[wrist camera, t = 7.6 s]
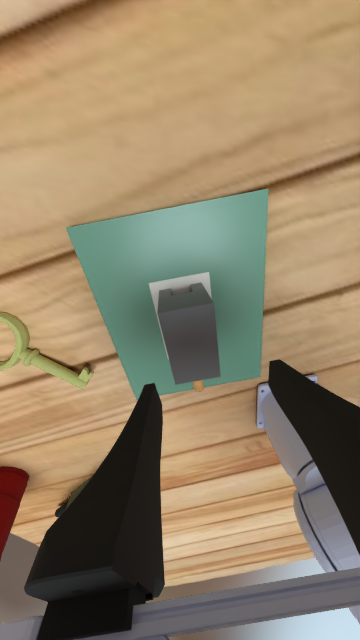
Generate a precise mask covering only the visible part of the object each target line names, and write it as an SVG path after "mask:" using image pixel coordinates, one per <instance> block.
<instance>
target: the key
mask: <svg viewBox="0 0 360 640" xmlns="http://www.w3.org/2000/svg"><path fill="white" fill-rule="evenodd" d="M0 321H1V322H3V323H5V324H7V325H8V326H9V327H10V328H11V329H12V330H13V332H14V334H15V339H16V346H15V350H14V353H13V355H12V357H11V359H10V360H8V361H5V362H1V361H0V371H3V370H6V369H8V368H10V367H12V366H14V365H15V364H17V363H18V362H19V361H20V360H21V359H22V360H24V362H23V365H25V366H28V365H30V364H32V365H34V366H36V367H38V368H40V369H42V370H44V371H46V372H48V373H50V374H53V375H55V376H57V377H59V378H61V379H63V380H65V381H67V382H69V383H71V384H73V385H75V386H77V387H79V388H81V389H84V388H85V386H86V385H87V383H88V382H89V378H90V377H91V376H92V374H93V373H94V371H91V372H89V371H90V370H88V368H86V367H85V368H84V369H83V371H82V372H81V374H78V373H76V372H74V371H72V370H70V369H68V368H66V367H64V366H62V365H60V364H58V363H56V362H54V361H52V360H50V359H48V358H46V357H44V356H42V355H40V354H39V353H40V352H39V350H37V349H35V350H33V351H32V350H30V349H28V345H29V333H28V329H27V327H26V326H25V324H24V323H23V322H22V321H21V320H19V319H18V318H17V317H15V316H13V315H11V314H8V313H4V312H0Z"/></svg>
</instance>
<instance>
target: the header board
mask: <svg viewBox="0 0 360 640" xmlns="http://www.w3.org/2000/svg"><path fill="white" fill-rule="evenodd" d="M267 209H268V189H264V190H258V191H253V192H248V193H243V194H238V195H233V196H228V197H222V198H217V199H212V200H207V201H202V202H197V203H192V204H186V205H181V206H176V207H171V208H166V209H161V210H156V211H150V212H145V213H140V214H135V215H130V216H125V217H120V218H114V219H109V220H104V221H99V222H94V223H89V224H84V225H78V226H73V227H68V228H66V229H67V232H68V234H69V237H70V239H71V241H72V244H73V246H74V249H75V251H76V254H77V256H78V258H79V261H80V263H81V266H82V268H83V271H84V273H85V275H86V278H87V280H88V283H89V285H90V288H91V290H92V292H93V295H94V297H95V300H96V302H97V305H98V307H99V309H100V312H101V314H102V317H103V319H104V322H105V324H106V326H107V329H108V331H109V334H110V336H111V339H112V341H113V343H114V346H115V348H116V351H117V353H118V356H119V358H120V360H121V363H122V365H123V368H124V370H125V372H126V375H127V377H128V380H129V382H130V385H131V387H132V389H133V392H134V394H135V397H136V399H139V397H140V394H141V392H142V389H143V387H144V385H145V384H151V383H155V385H156V388H157V391H158V394H159V395H165V394H170V393H176V392H181V391H186V390H192V389H194V388H193V382H189V383H183V384H178V385H175V382H174V378H173V374H172V370H171V366H170V362H169V358H168V354H167V350H166V346H165V342H164V338H163V334H162V330H161V326H160V322H159V318H158V314H157V312H158V298H159V290H164V289H170V288H171V293H172V296H173V295H178V294H183V293H189V292H191V290H190V285H191V284H196V283H202V284H203V286H204V288H205V289H206V291H207V292H208V294H209V296H210V297H211V299H212V300H213V302H214V307H215V318H216V329H217V340H218V352H219V363H220V374H221V377H216V378H211V379H205V380H203V384H204V387H208V386H214V385H219V384H225V383H230V382H236V381H241V380H246V379H252V378H257V377H260V370H261V347H262V324H263V301H264V278H265V255H266V232H267Z"/></svg>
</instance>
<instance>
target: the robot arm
mask: <svg viewBox="0 0 360 640" xmlns="http://www.w3.org/2000/svg"><path fill="white" fill-rule="evenodd" d="M317 379H318V377H317V376H316V375H308V376H304V375H302V374H301V373H299V372H298V371H296V370H295V369H293V368H292V367H290V366H289V365H287V364H286V363H284V362H283V361H281V360H280V359H279V360H274V361H270V365H269V380H268V383H265V384H260V385H259V386H258V394H257V422H256V426H257V428H258V429H261V428H264V429H265V431H266V433H267V435H268V437H269V439H270V441H271V443H272V445H273V447H274V449H275V451H276V453H277V455H278V457H279V460H280V462H281V464H282V466H283V468H284V469H285V471H286V472H287V474H288V475H289V476H290V477H291V478H292V480H293V482H294V484H295V486H296V488H297V490H296V491H295V492H294V494H293V499H294V503H293V504H294V511H295V514H296V517H297V520H298V523H299V525H300V528H301V530H302V532H303V535H304V537H305V539H306V541H307V543H308V545H309V547H310V548H311V550H312V552H313V554H314V556H315V557H316V559H317V560H318V562H319V564H320V565H321V566H322V568H323V569H324V571H325V572H326V573H323V574H317V575H312V576H305V577H299V578H293V579H288V580H282V581H276V582H270V583H264V584H258V585H252V586H246V587H241V588H235V589H229V590H223V591H217V592H211V593H205V594H199V595H193V596H187V597H181V598H175V599H169V600H163V601H157V602H151V603H145V602H146V601H149V600H153V598H154V597H159V595H160V593H161V591H162V589H163V587H164V585H165V581H164V564H163V546H162V523H161V494H160V459H161V442H162V425H163V417H162V403H161V400H160V397H159V394H158V391H157V388H156V385H155V383H151V384H145V385H144V387H143V389H142V392H141V394H140V397H139V399H138V401H137V403H136V405H135V408H134V410H133V412H132V414H131V416H130V418H129V420H128V422H127V423H126V425H125V427H124V429H123V431H122V432H121V434H120V436H119V438H118V439H117V441H116V443H115V444H114V446H113V447H112V449H111V451H110V452H109V454H108V455H107V457H106V458H105V459H104V461H103V462H102V464H101V465H100V467H99V468H98V470H97V471H96V472H95V474H94V475H93V476H92V478H91V479H90V480H89V481H88V483H87V484H86V485H85V487H84V488H83V489H82V490H81V492H80V493H79V494H78V496H77V497H76V498H75V499H74V500H73V502H72V503H71V504H70V505H69V506H68V507H67V509H66V510H65V511H64V512H63V513H62V514H61V516H60V517H59V518H58V519H57V520H56V521H55V522H54V524H53V525H52V526H51V527H50V528H49V529H48V530H47V532H46V534H45V536H44V539H43V541H42V543H41V545H40V547H39V550H38V553H37V556H36V558H35V560H34V563H33V566H32V568H31V571H30V574H29V576H28V579H27V581H26V585H25V587H24V589H25V592H26V594H28V595H30V596H32V597H35V598H38V599H41V600H44V601H47V602H48V605H47V608H46V611H45V614H44V616H31V617H25V618H19V619H13V620H8V621H4V622H3V623H2V624H1V625H0V640H169V638H167V637H172V636H178V635H184V634H190V633H196V632H202V631H208V630H214V629H220V628H226V627H233V626H238V625H245V624H250V623H257V622H262V621H269V620H275V619H281V618H287V617H293V616H298V615H305V614H311V613H317V612H322V611H329V610H335V609H341V608H346V607H349V609H350V611H351V612H352V614H353V616H354V617H355V618H356V619H357V620H358V622H359V624H360V407H358V406H356V405H354V404H352V403H350V402H348V401H346V400H344V399H343V398H341V397H339V396H337V395H335V394H334V393H332V392H330V391H328V390H327V389H325V388H323V387H322V386H320V385H318V384H317Z"/></svg>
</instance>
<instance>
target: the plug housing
mask: <svg viewBox="0 0 360 640" xmlns="http://www.w3.org/2000/svg"><path fill="white" fill-rule="evenodd" d="M190 290H191V292H189V293H183V294H178V295H173V296H172V293H171V288H170V289H164V290H159V298H158V312H157V314H158V318H159V322H160V326H161V330H162V334H163V338H164V342H165V346H166V350H167V354H168V358H169V362H170V366H171V370H172V374H173V378H174V382H175V385H178V384H183V383H189V382H193V388H194V390H195V391H196V392H201V391H202V390H203V389H204V384H203V380H205V379H211V378H216V377H221V374H220V363H219V352H218V340H217V329H216V318H215V307H214V302H213V300H212V299H211V297H210V296H209V294H208V292H207V291H206V289H205V288H204V286H203V284H202V283H196V284H191V285H190Z"/></svg>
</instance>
